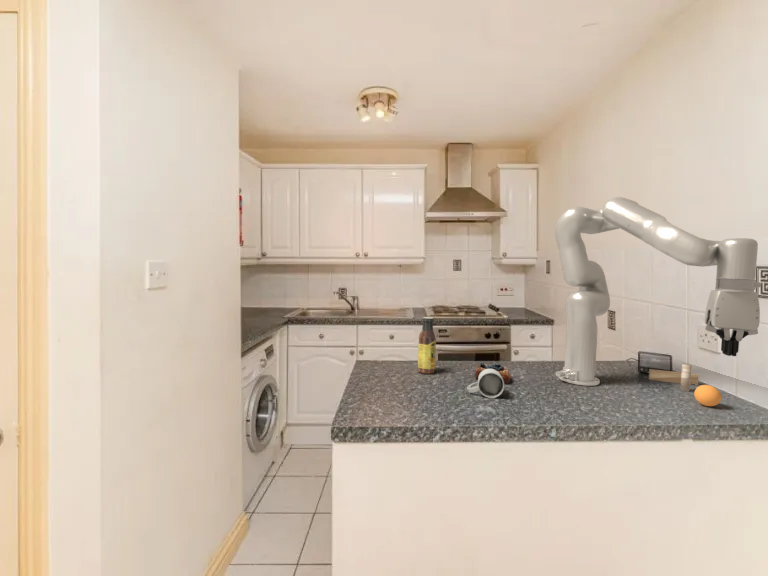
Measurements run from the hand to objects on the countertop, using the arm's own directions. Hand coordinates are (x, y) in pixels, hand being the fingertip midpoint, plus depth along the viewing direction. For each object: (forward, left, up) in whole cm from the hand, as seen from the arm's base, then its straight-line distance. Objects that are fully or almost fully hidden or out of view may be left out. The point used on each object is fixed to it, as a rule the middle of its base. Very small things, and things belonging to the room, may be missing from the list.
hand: (729, 354), depth 101 cm
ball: (+7, +7, -14) cm, 17 cm away
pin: (+17, +17, -17) cm, 30 cm away
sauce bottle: (-52, +66, -17) cm, 86 cm away
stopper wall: (+24, +25, -17) cm, 39 cm away
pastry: (-35, +50, -18) cm, 64 cm away
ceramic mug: (-48, +39, -17) cm, 64 cm away
